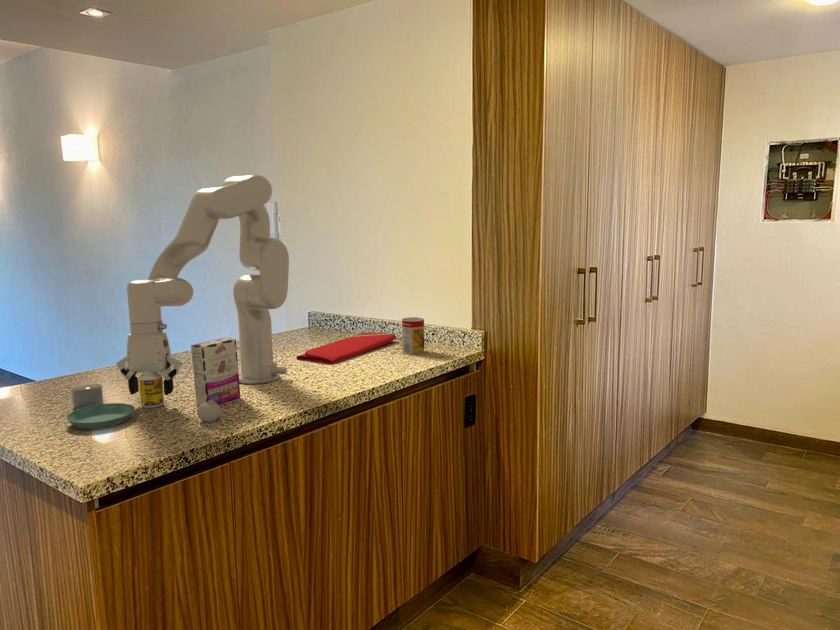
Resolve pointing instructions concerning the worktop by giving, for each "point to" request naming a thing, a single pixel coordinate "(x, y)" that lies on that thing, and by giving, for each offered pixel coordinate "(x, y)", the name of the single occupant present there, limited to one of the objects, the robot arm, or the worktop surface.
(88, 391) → the grey short cylinder
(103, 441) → the worktop surface
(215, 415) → the garlic
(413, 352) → the canned food
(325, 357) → the dish drying mat
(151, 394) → the supplement bottle
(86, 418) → the saucer
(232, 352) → the candy bar box
